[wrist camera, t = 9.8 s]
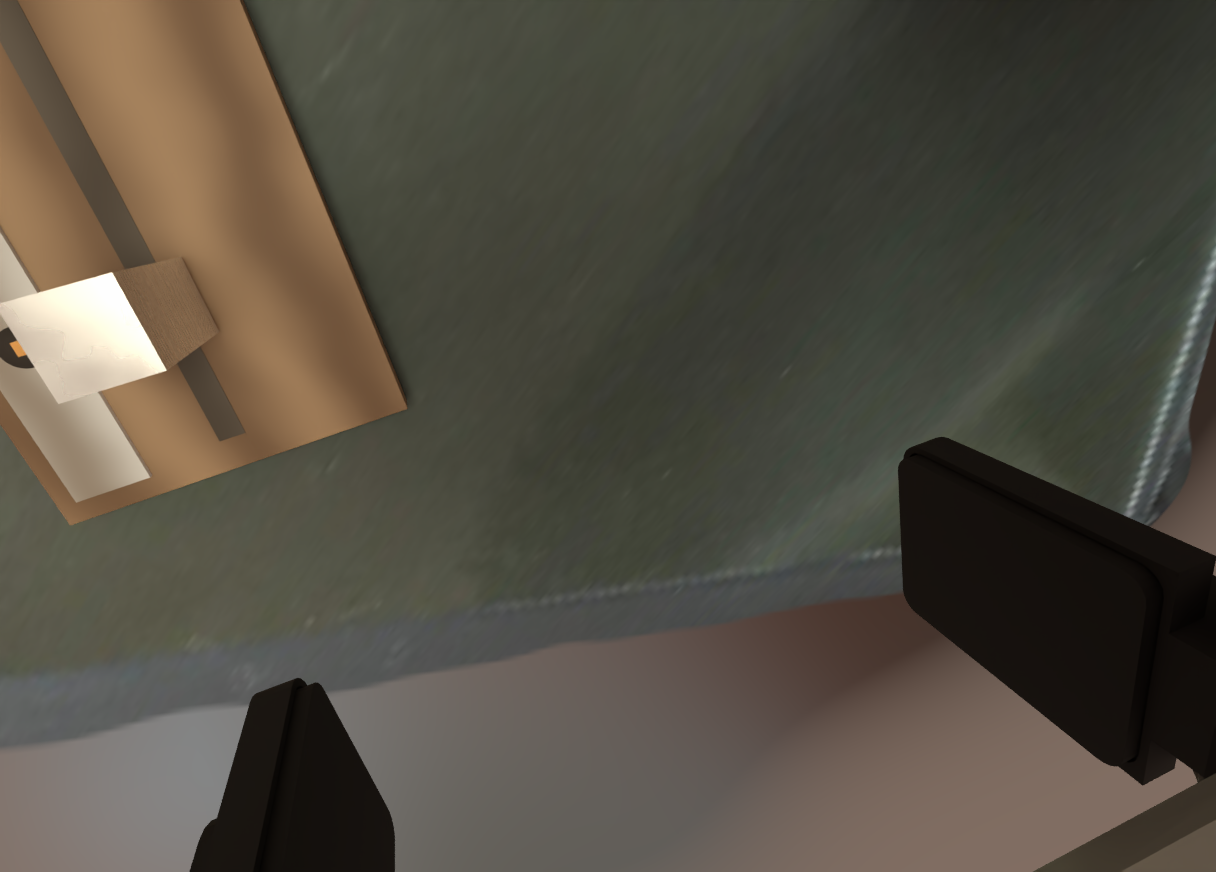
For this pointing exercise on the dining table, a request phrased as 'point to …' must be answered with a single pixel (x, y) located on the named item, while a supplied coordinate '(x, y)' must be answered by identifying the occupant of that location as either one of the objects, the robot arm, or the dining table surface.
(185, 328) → the sliding block with pointer
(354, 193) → the dining table surface
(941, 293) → the dining table surface
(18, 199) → the rule board
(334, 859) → the robot arm
